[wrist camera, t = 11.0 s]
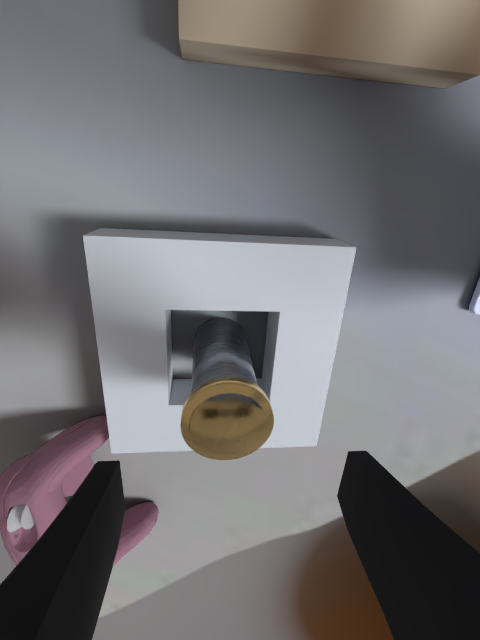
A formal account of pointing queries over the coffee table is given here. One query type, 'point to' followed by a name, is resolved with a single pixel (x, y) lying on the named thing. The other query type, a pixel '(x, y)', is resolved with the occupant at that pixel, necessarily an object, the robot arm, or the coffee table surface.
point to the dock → (216, 295)
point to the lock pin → (224, 396)
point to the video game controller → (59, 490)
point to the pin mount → (338, 37)
